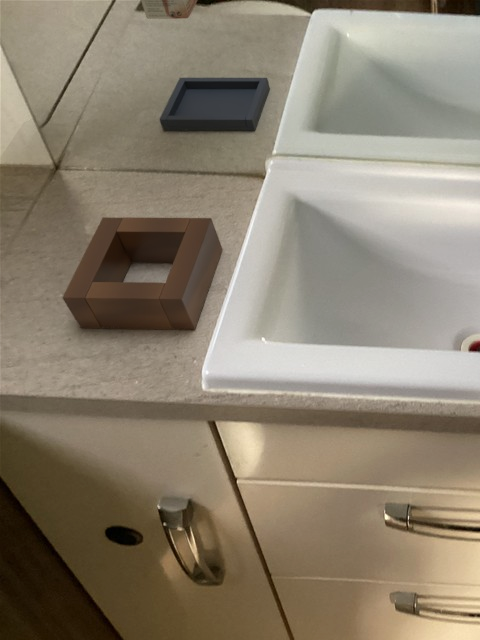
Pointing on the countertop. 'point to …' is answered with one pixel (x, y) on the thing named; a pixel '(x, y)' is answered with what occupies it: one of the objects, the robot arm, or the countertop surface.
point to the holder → (140, 297)
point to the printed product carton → (168, 8)
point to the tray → (215, 104)
